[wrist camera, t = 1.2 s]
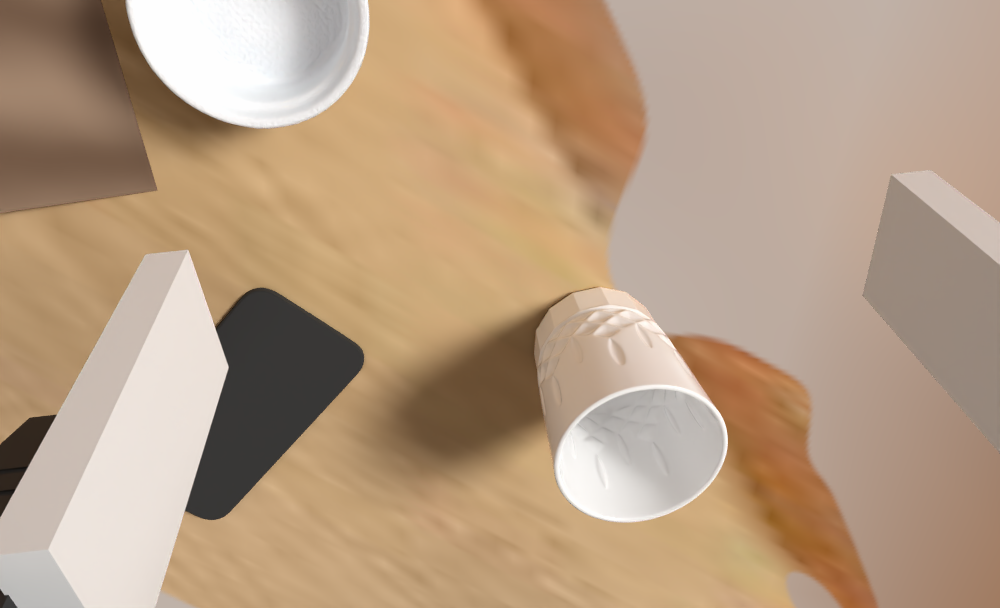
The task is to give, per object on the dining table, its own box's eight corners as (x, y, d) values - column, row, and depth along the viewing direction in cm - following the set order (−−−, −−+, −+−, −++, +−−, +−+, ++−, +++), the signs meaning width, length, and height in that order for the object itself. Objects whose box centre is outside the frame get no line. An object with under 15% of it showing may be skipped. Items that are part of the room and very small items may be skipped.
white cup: (506, 385, 44) (532, 512, 35) (546, 263, 41) (586, 372, 32) (634, 405, 46) (688, 531, 37) (683, 290, 42) (756, 400, 34)
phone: (374, 358, 42) (217, 527, 46) (374, 349, 42) (220, 516, 47) (254, 281, 39) (99, 470, 43) (257, 274, 39) (104, 460, 44)
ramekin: (137, 58, 33) (104, 83, 30) (178, -164, 30) (147, -168, 26) (338, 128, 36) (331, 159, 32) (400, -69, 32) (400, -60, 28)
